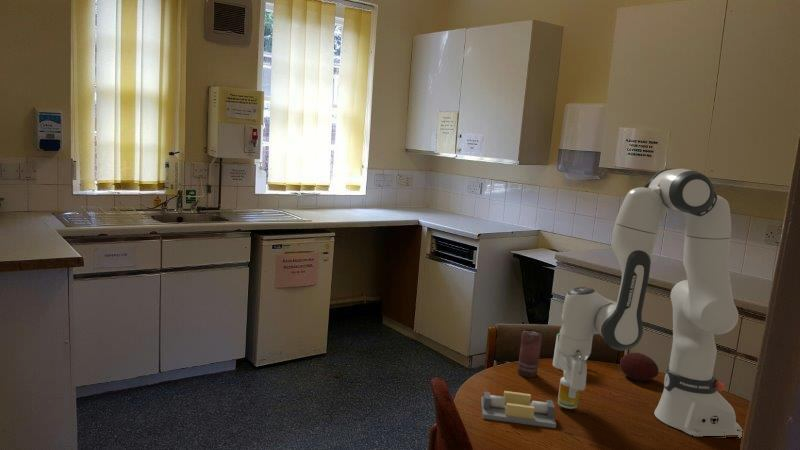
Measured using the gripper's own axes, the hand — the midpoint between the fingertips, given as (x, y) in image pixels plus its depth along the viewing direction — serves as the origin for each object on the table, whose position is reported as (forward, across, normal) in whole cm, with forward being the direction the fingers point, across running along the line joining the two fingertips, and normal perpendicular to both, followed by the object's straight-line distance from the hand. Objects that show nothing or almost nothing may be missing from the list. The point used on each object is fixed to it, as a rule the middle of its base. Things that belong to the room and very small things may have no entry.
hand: (569, 392), depth 171 cm
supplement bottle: (+4, 0, 0) cm, 4 cm away
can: (+5, +22, +9) cm, 24 cm away
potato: (+6, +31, -28) cm, 42 cm away
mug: (+5, +34, -7) cm, 35 cm away
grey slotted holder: (+4, -8, +15) cm, 17 cm away
